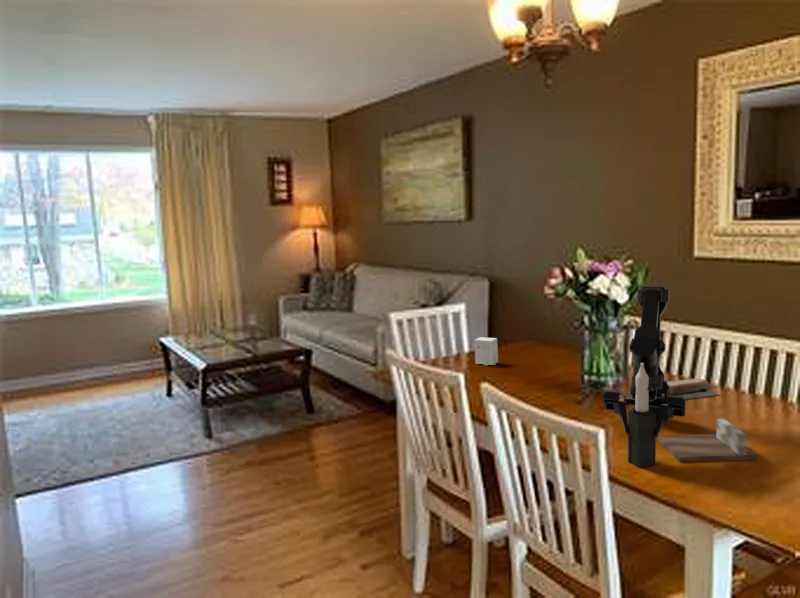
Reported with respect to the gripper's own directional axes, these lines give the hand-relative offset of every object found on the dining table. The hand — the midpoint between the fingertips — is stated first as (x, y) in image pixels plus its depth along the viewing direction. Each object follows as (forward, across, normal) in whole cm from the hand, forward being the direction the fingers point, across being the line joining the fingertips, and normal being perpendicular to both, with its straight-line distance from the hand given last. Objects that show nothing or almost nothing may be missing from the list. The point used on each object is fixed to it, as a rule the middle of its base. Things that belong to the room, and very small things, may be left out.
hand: (641, 434), depth 144 cm
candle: (+4, 0, +6) cm, 8 cm away
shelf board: (-5, +14, +16) cm, 22 cm away
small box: (-53, -65, +64) cm, 106 cm away
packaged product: (-38, +8, +50) cm, 63 cm away
